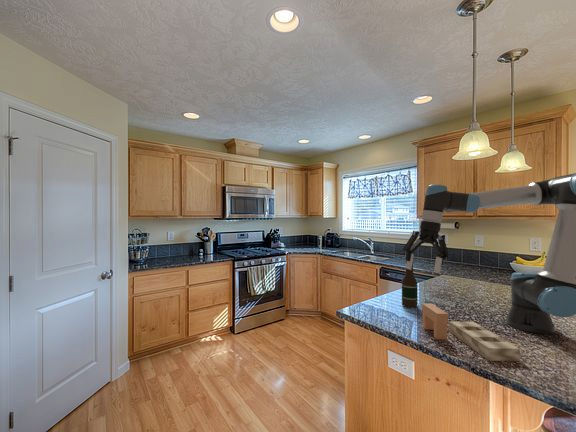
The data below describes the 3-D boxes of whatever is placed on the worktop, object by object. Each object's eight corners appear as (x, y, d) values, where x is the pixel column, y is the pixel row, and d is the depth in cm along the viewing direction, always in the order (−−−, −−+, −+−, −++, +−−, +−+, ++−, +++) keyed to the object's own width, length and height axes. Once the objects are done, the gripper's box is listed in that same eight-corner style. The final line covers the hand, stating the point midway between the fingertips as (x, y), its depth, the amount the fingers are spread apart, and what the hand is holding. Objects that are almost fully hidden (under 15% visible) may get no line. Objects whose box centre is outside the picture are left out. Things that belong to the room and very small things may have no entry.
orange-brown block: (422, 326, 111) (422, 303, 111) (431, 327, 111) (431, 303, 111) (437, 339, 99) (437, 313, 99) (447, 340, 99) (447, 313, 99)
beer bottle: (403, 302, 143) (403, 259, 143) (419, 305, 138) (419, 260, 139) (399, 306, 137) (399, 260, 137) (415, 309, 132) (415, 262, 132)
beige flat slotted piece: (474, 331, 106) (474, 321, 106) (520, 361, 84) (519, 348, 84) (449, 331, 107) (449, 321, 107) (488, 360, 85) (488, 348, 85)
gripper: (449, 224, 116) (441, 271, 116) (399, 216, 111) (391, 265, 112) (463, 226, 108) (455, 276, 109) (410, 217, 104) (401, 269, 105)
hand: (422, 270), depth 110 cm, fingers open, 13 cm apart
